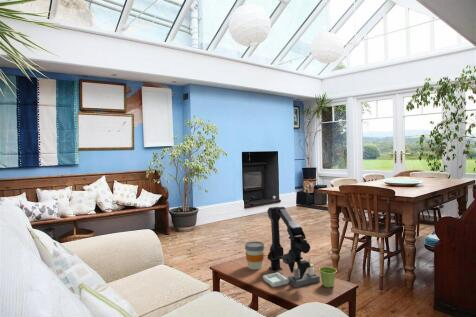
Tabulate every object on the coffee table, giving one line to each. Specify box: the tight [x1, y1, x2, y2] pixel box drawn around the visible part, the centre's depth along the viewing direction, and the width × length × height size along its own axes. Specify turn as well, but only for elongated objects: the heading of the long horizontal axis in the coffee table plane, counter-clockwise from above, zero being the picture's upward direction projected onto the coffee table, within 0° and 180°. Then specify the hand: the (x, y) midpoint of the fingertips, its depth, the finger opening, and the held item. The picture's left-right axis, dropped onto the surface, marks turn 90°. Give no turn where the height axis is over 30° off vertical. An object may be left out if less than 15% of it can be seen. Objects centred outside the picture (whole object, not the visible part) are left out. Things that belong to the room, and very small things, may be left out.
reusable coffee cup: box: [244, 241, 265, 270], centre depth 203 cm, size 13×13×15 cm
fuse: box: [307, 263, 315, 277], centre depth 179 cm, size 3×3×9 cm
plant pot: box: [318, 266, 338, 288], centre depth 172 cm, size 9×9×9 cm
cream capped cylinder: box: [293, 266, 300, 280], centre depth 175 cm, size 3×3×9 cm
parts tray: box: [262, 272, 290, 288], centre depth 179 cm, size 12×10×2 cm
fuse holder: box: [287, 272, 321, 288], centre depth 177 cm, size 8×16×3 cm, turn 114°
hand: (296, 275), depth 175 cm, fingers open, 9 cm apart
